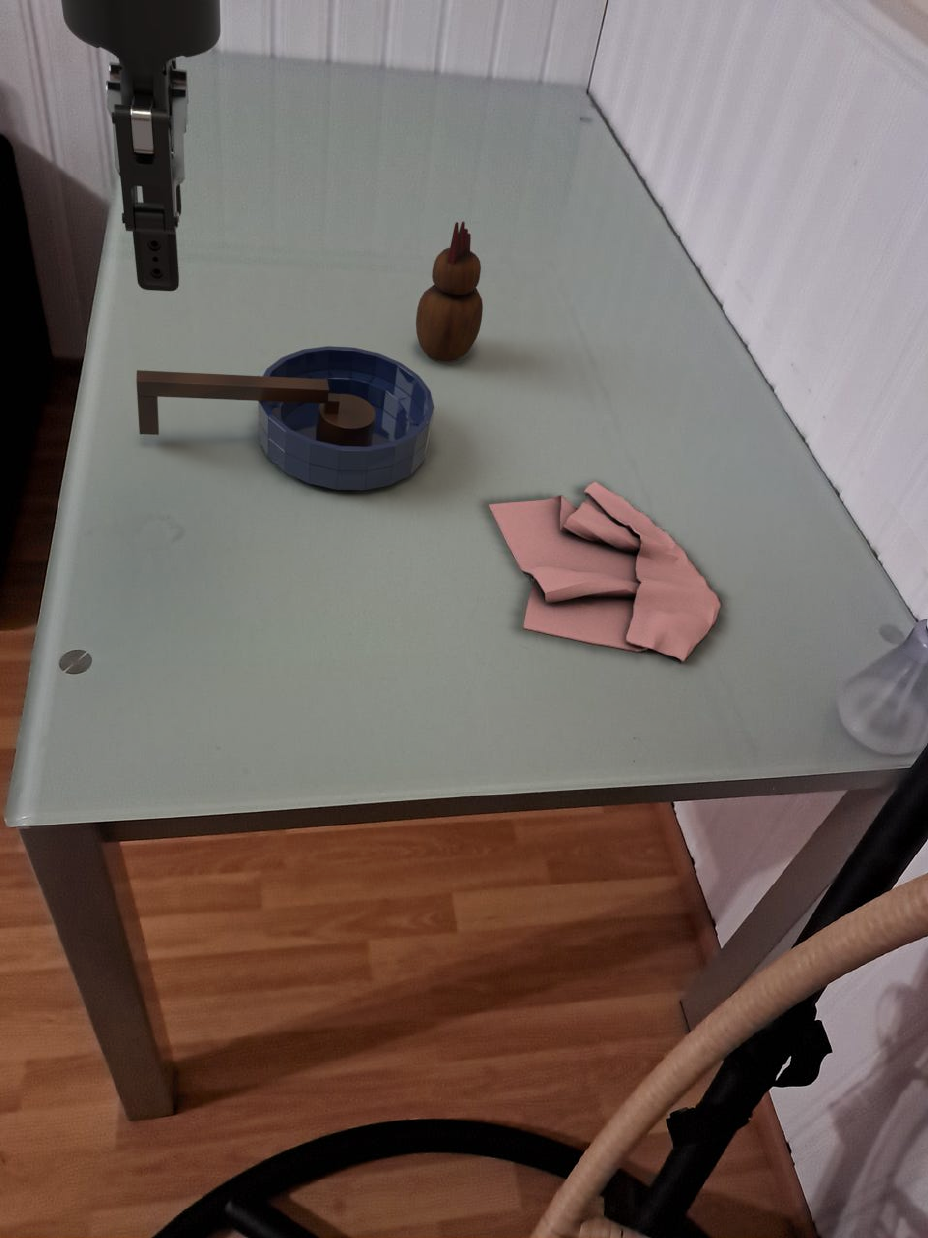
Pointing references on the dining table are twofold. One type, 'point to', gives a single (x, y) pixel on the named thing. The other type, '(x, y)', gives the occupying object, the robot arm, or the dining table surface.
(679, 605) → the cloth
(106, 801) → the dining table surface
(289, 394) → the ladle
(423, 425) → the bowl
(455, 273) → the wooden figurine
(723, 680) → the dining table surface
